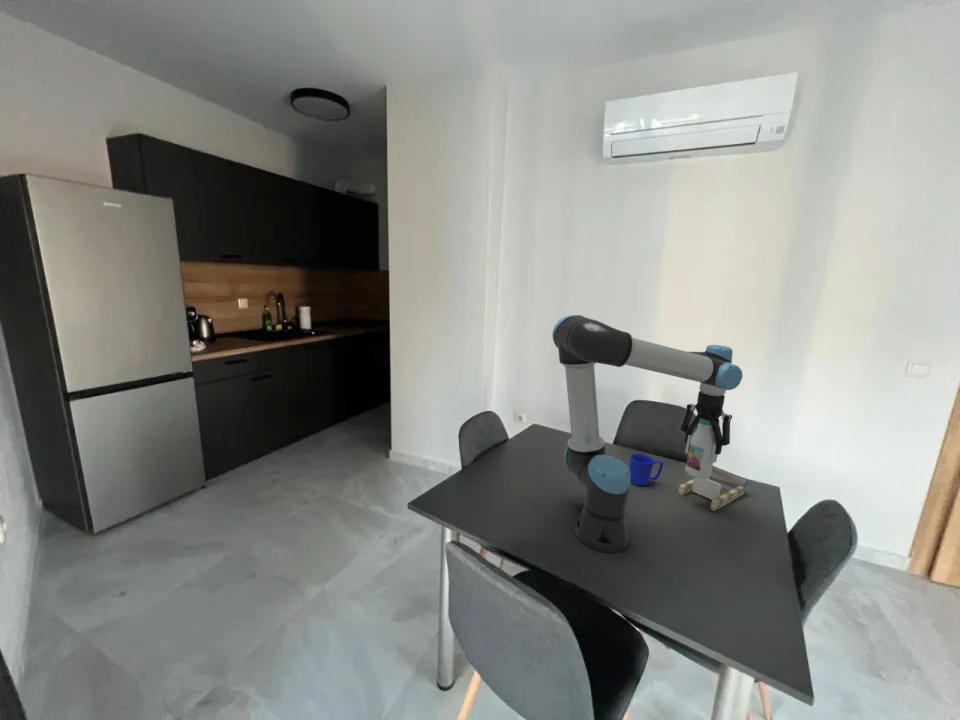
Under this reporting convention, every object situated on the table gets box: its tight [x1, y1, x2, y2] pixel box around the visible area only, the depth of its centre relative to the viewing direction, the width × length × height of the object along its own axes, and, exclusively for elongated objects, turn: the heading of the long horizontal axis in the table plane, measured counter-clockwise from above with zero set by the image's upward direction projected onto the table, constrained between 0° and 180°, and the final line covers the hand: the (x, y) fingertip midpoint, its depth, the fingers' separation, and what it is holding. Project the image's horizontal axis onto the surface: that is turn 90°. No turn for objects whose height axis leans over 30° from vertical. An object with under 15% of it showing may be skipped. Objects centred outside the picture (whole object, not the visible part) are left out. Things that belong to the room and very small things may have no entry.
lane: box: [677, 465, 749, 510], centre depth 149 cm, size 22×13×6 cm, turn 125°
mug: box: [629, 453, 664, 487], centre depth 155 cm, size 8×12×10 cm
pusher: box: [691, 477, 722, 500], centre depth 147 cm, size 4×9×7 cm, turn 35°
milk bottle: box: [684, 418, 716, 479], centre depth 137 cm, size 8×8×20 cm
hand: (700, 457), depth 138 cm, fingers closed on milk bottle, 8 cm apart
